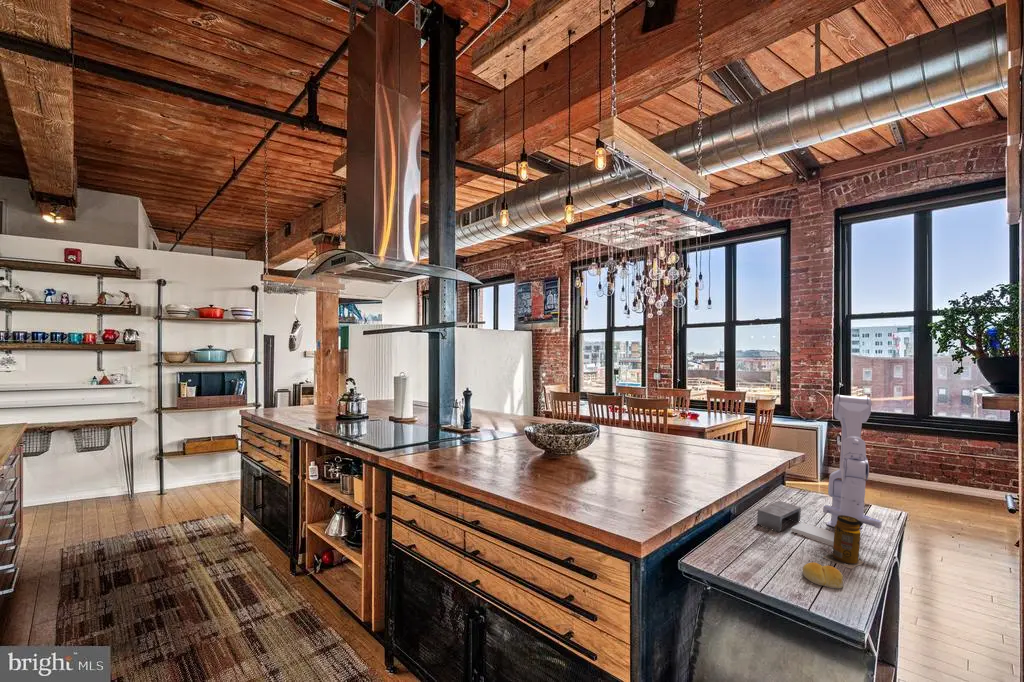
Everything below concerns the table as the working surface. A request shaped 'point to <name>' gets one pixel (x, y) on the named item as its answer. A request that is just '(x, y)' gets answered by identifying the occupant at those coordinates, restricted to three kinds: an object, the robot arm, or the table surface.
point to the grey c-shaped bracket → (777, 515)
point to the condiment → (846, 542)
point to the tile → (814, 533)
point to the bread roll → (823, 575)
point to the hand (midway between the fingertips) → (849, 543)
